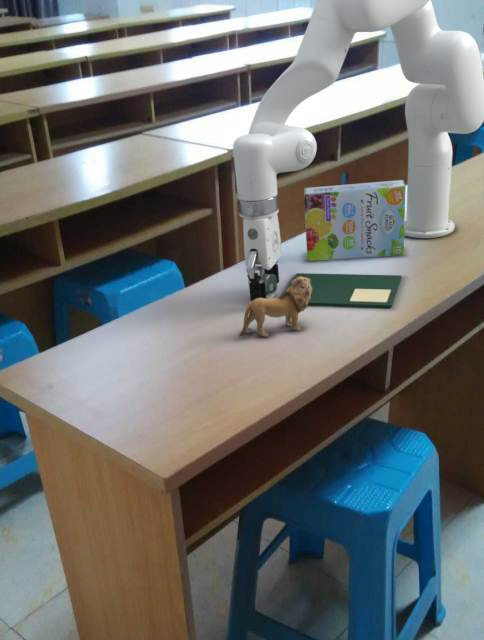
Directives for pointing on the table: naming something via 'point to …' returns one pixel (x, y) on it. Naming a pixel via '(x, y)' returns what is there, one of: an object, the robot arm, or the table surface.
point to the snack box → (355, 220)
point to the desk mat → (352, 289)
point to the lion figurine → (279, 306)
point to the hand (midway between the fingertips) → (265, 291)
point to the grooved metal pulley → (270, 285)
